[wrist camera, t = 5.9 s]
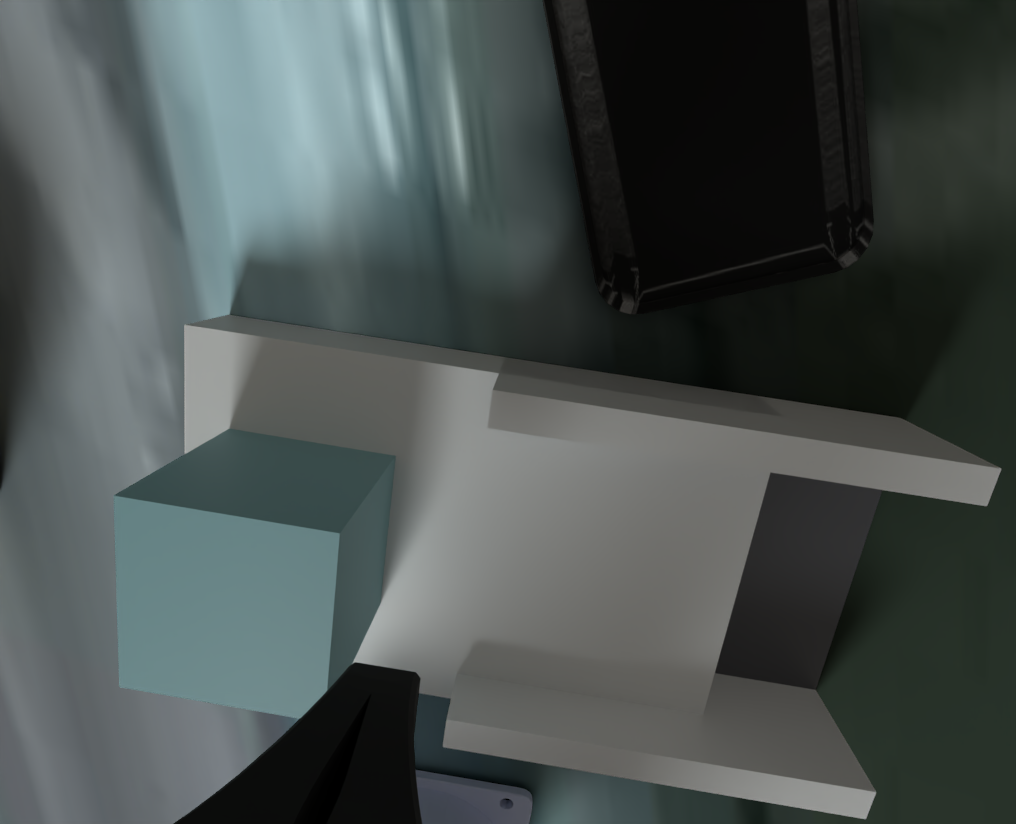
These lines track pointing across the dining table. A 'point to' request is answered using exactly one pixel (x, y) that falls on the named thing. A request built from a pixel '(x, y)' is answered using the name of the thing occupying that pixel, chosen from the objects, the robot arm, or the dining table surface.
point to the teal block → (250, 570)
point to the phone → (713, 142)
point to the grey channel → (598, 547)
